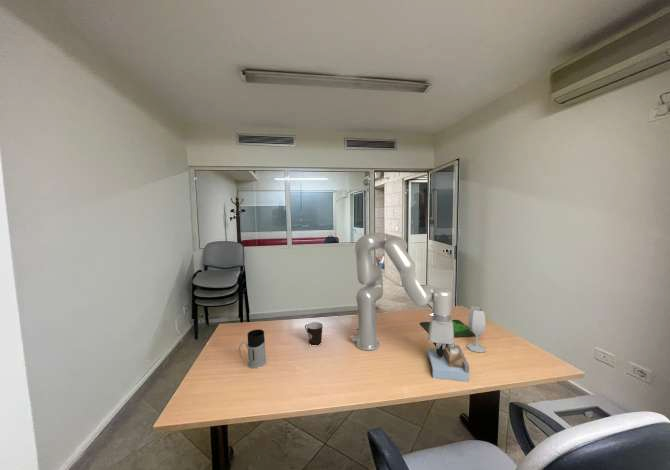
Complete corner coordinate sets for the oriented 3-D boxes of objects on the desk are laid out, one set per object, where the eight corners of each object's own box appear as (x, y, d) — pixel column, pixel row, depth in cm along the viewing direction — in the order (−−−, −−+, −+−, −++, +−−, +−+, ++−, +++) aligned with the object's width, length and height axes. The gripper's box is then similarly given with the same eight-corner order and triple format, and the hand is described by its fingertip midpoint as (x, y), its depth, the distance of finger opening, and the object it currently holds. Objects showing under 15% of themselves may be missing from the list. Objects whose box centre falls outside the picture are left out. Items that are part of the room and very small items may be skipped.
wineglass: (488, 353, 130) (490, 312, 128) (469, 352, 131) (470, 311, 129) (482, 345, 138) (483, 306, 136) (464, 343, 140) (465, 305, 138)
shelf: (433, 378, 112) (433, 362, 111) (427, 356, 128) (428, 342, 128) (468, 382, 109) (469, 366, 108) (458, 359, 125) (459, 345, 125)
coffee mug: (325, 345, 141) (324, 327, 140) (309, 348, 138) (309, 330, 137) (318, 335, 152) (318, 319, 151) (304, 338, 149) (303, 321, 148)
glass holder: (270, 360, 127) (269, 331, 126) (247, 377, 115) (245, 344, 114) (257, 356, 132) (256, 327, 130) (234, 371, 120) (232, 339, 118)
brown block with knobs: (449, 367, 113) (449, 352, 112) (441, 352, 125) (441, 339, 124) (462, 367, 112) (463, 353, 112) (453, 352, 124) (453, 339, 123)
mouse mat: (433, 340, 145) (433, 338, 145) (417, 323, 167) (417, 321, 167) (480, 336, 148) (480, 335, 148) (458, 320, 170) (458, 319, 169)
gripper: (424, 318, 115) (423, 358, 117) (461, 321, 112) (459, 362, 113) (423, 312, 122) (421, 349, 124) (457, 314, 119) (455, 353, 121)
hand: (439, 355), depth 119 cm, fingers closed
